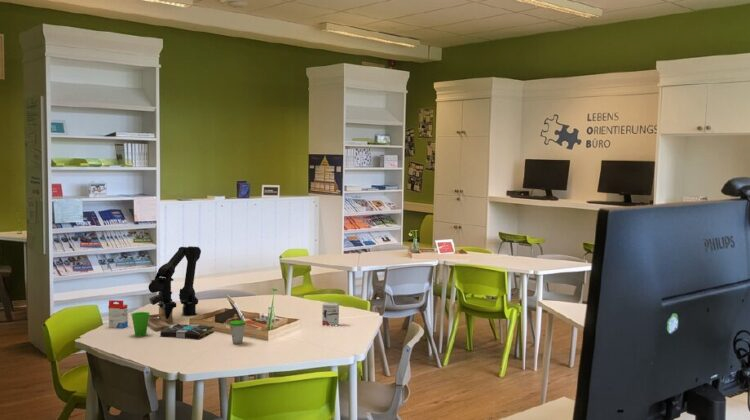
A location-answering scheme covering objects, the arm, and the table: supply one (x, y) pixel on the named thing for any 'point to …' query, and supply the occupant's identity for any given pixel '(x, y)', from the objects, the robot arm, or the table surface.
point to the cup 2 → (237, 330)
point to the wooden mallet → (163, 315)
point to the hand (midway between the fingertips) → (165, 317)
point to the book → (187, 331)
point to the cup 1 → (140, 322)
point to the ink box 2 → (330, 314)
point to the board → (157, 324)
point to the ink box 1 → (118, 314)
